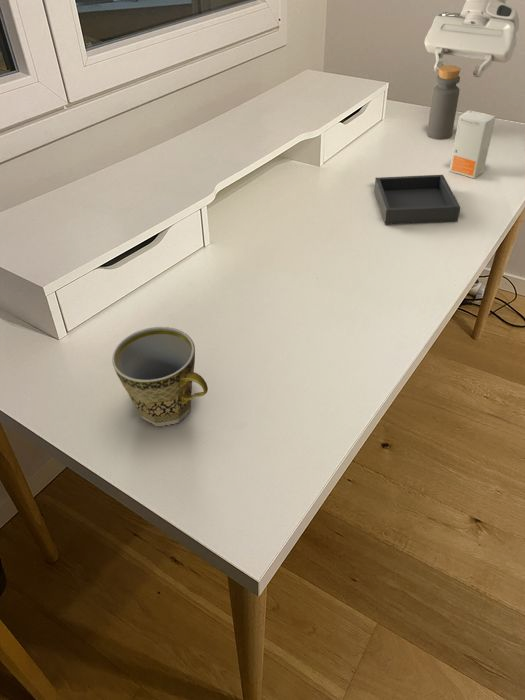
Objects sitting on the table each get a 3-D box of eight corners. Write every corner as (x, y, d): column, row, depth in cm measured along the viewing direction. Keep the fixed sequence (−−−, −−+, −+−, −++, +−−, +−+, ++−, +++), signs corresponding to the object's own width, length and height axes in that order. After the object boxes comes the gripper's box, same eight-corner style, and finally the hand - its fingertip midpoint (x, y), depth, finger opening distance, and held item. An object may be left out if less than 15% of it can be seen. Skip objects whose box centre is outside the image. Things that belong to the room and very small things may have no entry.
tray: (440, 188, 120) (443, 174, 118) (457, 221, 110) (460, 206, 108) (374, 191, 120) (375, 177, 118) (384, 225, 110) (386, 210, 108)
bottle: (426, 129, 143) (435, 64, 133) (450, 130, 142) (461, 64, 132) (427, 139, 139) (437, 72, 129) (453, 139, 138) (464, 72, 128)
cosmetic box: (448, 171, 125) (458, 115, 118) (458, 165, 128) (468, 109, 120) (474, 179, 122) (486, 122, 114) (484, 172, 125) (496, 115, 117)
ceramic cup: (112, 417, 77) (94, 361, 70) (163, 372, 83) (151, 317, 76) (188, 460, 71) (176, 403, 64) (236, 408, 77) (230, 352, 70)
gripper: (435, 2, 136) (411, 59, 137) (524, 11, 127) (498, 71, 128) (439, 20, 142) (417, 74, 143) (525, 29, 132) (501, 86, 133)
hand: (456, 73), depth 135 cm, fingers open, 8 cm apart
